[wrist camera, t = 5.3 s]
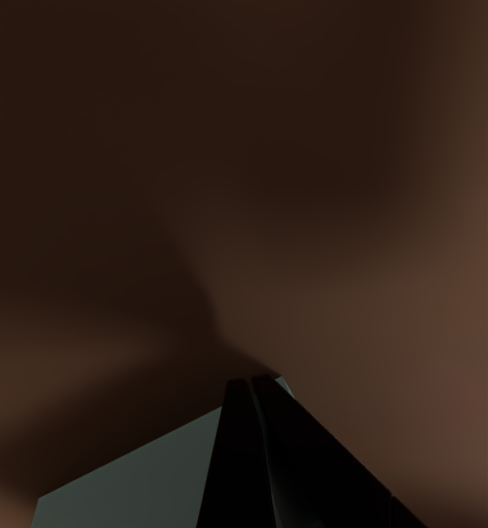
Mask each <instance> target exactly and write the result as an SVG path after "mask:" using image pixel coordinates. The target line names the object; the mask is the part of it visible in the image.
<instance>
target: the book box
mask: <svg viewBox="0 0 488 528" xmlns="http://www.w3.org/2000/svg"><path fill="white" fill-rule="evenodd" d="M275 380H276V381H277V382H278V383H279V384H280V385H281V386H282V387H283V388H284V389H285V390H286V391H287V392H288V393H289V394H290V395H292V396H293V397H294V395H293V394H292V392H291V390H290V389H289V387H288V385H287V384H286V382H285V380H284V378H283V377H282V376H281V377H279V378H277V379H275ZM294 398H295V397H294ZM221 408H222V406H221V407H219V408H217V409H215V410H213V411H211V412H209V413H207V414H205V415H203V416H201V417H199V418H197V419H195V420H193V421H192V422H190V423H188V424H186V425H184V426H182V427H180V428H178V429H176V430H174V431H172V432H170V433H168V434H166V435H164V436H162V437H160V438H158V439H156V440H154V441H152V442H150V443H148V444H146V445H144V446H142V447H140V448H138V449H136V450H134V451H132V452H130V453H128V454H126V455H124V456H122V457H120V458H118V459H116V460H114V461H112V462H110V463H108V464H106V465H104V466H102V467H100V468H98V469H96V470H94V471H92V472H90V473H88V474H86V475H84V476H82V477H80V478H78V479H76V480H74V481H72V482H70V483H68V484H66V485H64V486H62V487H60V488H58V489H56V490H54V491H52V492H50V493H48V494H46V495H44V496H42V497H40V498H39V499H38V503H37V506H36V510H35V513H34V517H33V520H32V523H31V527H30V528H196V525H197V520H198V515H199V511H200V506H201V501H202V497H203V492H204V487H205V483H206V478H207V473H208V469H209V464H210V459H211V455H212V450H213V445H214V441H215V436H216V431H217V427H218V422H219V417H220V413H221ZM271 495H272V492H271ZM272 502H273V509H274V516H275V523H276V528H283V525H282V522H281V519H280V516H279V513H278V510H277V507H276V504H275V501H274V498H273V495H272Z"/></svg>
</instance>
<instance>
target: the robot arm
mask: <svg viewBox="0 0 488 528" xmlns="http://www.w3.org/2000/svg"><path fill="white" fill-rule="evenodd" d="M250 387H251V392H250V389H249V386H248V383H247V380H246V379H245V378H244V377H242V378H236V379H231V380H228V382H227V385H226V389H225V394H224V399H223V403H222V408H221V413H220V417H219V422H218V427H217V431H216V436H215V441H214V445H213V450H212V455H211V459H210V464H209V469H208V473H207V478H206V483H205V487H204V492H203V497H202V501H201V506H200V511H199V515H198V520H197V525H196V528H276V523H275V516H274V509H273V502H272V495H273V498H274V501H275V504H276V507H277V510H278V513H279V516H280V519H281V522H282V525H283V528H428V527H427V526H426V525H425V524H424V523H423V522H422V521H420V520H419V519H418V518H417V517H416V516H415V515H414V514H413V513H412V512H411V511H410V510H409V509H408V508H407V507H406V506H405V505H404V504H403V503H402V502H401V501H400V500H399V499H398V498H397V497H395V496H393V497H392V493H391V492H390V491H389V490H388V489H387V488H386V487H385V486H384V485H383V484H382V483H381V482H380V481H379V480H378V479H377V478H376V477H375V476H374V475H373V474H372V473H371V472H370V471H369V470H368V469H367V468H366V467H365V466H364V465H362V464H361V463H360V462H359V461H358V460H357V459H356V458H355V457H354V456H353V455H352V454H351V453H350V452H349V451H348V450H347V449H346V448H345V447H344V446H343V445H342V444H341V443H340V442H339V441H338V440H337V439H336V438H335V437H334V436H333V435H332V434H331V433H330V432H329V431H328V430H326V429H325V428H324V427H323V426H322V425H321V424H320V423H319V422H318V421H317V420H316V419H315V418H314V417H313V416H312V415H311V414H310V413H309V412H308V411H307V410H306V409H305V408H304V407H303V406H302V405H301V404H300V403H299V402H298V401H297V400H296V399H295V398H294V397H293V396H292V395H290V394H289V393H288V392H287V391H286V390H285V389H284V388H283V387H282V386H281V385H280V384H279V383H278V382H277V381H276V380H275V379H274V378H273V377H272V376H271V375H270V374H268V373H263V374H258V375H253V376H252V377H251V378H250ZM271 492H272V495H271Z"/></svg>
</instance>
